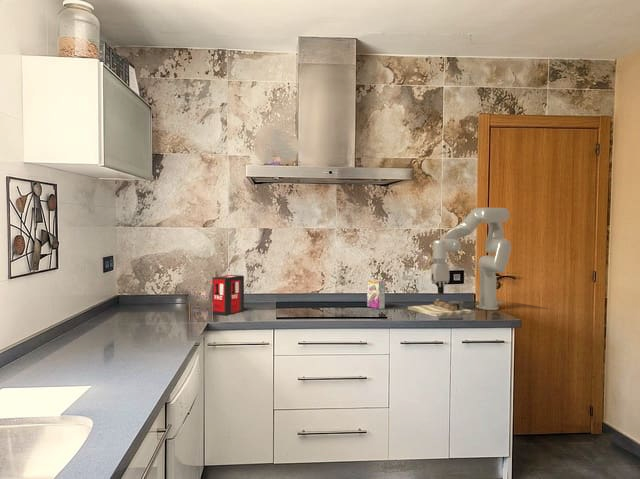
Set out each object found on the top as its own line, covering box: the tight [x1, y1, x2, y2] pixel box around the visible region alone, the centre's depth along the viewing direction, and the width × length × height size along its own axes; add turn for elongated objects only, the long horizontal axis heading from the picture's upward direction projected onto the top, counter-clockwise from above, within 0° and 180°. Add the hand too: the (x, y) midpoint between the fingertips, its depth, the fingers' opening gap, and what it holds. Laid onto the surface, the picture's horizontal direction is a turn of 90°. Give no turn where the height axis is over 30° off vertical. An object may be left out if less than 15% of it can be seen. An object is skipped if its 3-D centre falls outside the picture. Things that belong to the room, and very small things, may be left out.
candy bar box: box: [366, 278, 386, 310], centre depth 293 cm, size 11×5×16 cm, turn 34°
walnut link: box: [433, 298, 457, 310], centre depth 286 cm, size 20×5×4 cm, turn 17°
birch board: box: [407, 304, 473, 317], centre depth 284 cm, size 26×25×2 cm
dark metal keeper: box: [447, 300, 465, 310], centre depth 280 cm, size 9×4×4 cm, turn 118°
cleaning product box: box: [211, 274, 245, 317], centre depth 271 cm, size 16×9×20 cm, turn 154°
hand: (440, 293), depth 282 cm, fingers closed
